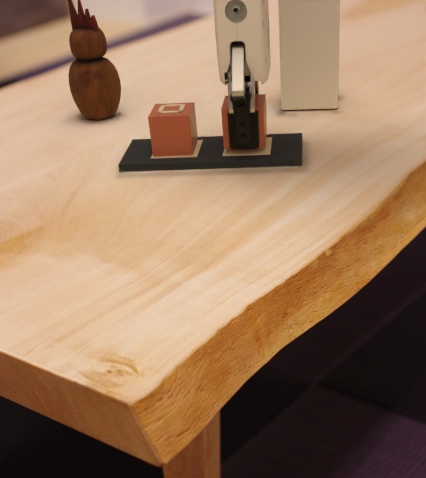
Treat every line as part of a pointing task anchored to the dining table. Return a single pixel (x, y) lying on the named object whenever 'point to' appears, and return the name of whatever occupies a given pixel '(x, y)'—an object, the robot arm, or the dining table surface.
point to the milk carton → (309, 53)
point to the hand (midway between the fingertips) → (246, 138)
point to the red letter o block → (173, 129)
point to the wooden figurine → (91, 67)
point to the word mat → (216, 154)
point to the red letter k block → (261, 108)
